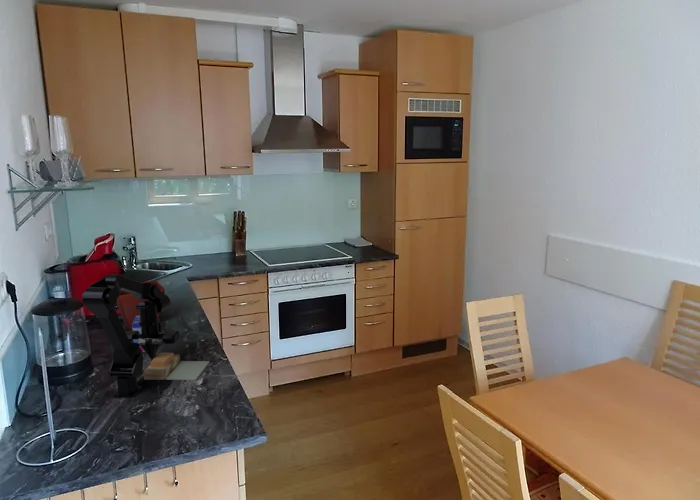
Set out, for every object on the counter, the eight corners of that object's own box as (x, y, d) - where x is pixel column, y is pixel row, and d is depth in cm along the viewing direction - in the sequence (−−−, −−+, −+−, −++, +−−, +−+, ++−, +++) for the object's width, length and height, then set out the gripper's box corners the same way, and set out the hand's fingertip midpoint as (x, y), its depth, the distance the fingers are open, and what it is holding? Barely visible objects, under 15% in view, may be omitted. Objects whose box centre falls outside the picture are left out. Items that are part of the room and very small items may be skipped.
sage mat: (196, 379, 166) (196, 378, 166) (165, 379, 166) (165, 378, 166) (209, 362, 180) (209, 361, 179) (181, 362, 180) (181, 361, 180)
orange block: (164, 367, 169) (164, 362, 168) (150, 367, 169) (150, 362, 169) (174, 357, 177) (173, 352, 176) (160, 357, 177) (160, 352, 176)
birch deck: (164, 379, 166) (163, 371, 166) (144, 379, 167) (143, 371, 166) (180, 362, 180) (179, 354, 180) (161, 361, 180) (161, 354, 180)
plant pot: (159, 313, 235) (156, 279, 231) (168, 324, 219) (165, 288, 216) (116, 321, 225) (111, 286, 221) (122, 334, 209) (118, 296, 206)
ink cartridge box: (149, 351, 190) (145, 316, 187) (134, 353, 189) (130, 317, 186) (152, 342, 199) (149, 308, 196) (137, 344, 198) (134, 309, 195)
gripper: (184, 310, 177) (187, 350, 180) (133, 310, 178) (137, 350, 181) (171, 320, 166) (175, 363, 169) (118, 320, 167) (123, 363, 170)
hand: (153, 359), depth 173 cm, fingers closed
